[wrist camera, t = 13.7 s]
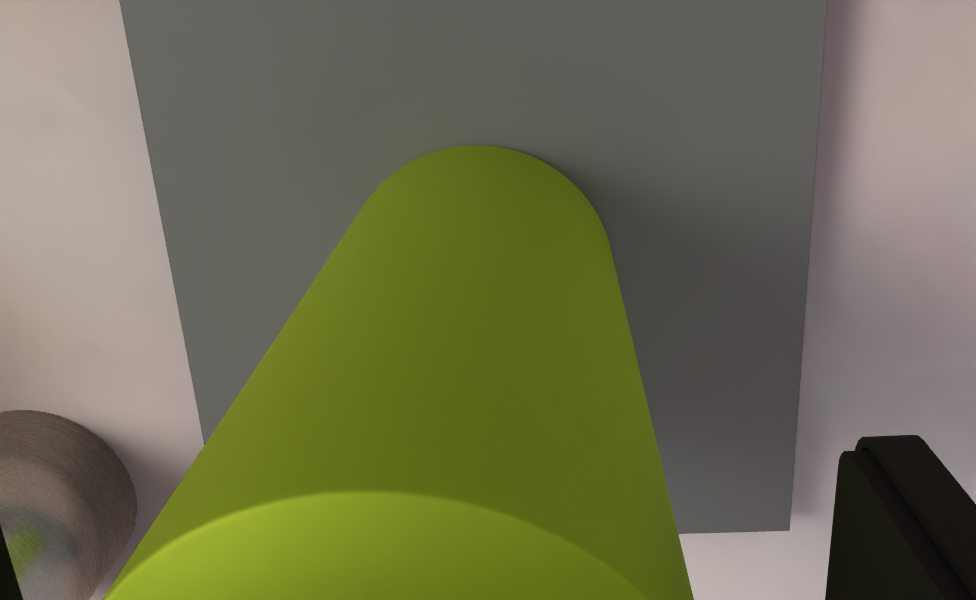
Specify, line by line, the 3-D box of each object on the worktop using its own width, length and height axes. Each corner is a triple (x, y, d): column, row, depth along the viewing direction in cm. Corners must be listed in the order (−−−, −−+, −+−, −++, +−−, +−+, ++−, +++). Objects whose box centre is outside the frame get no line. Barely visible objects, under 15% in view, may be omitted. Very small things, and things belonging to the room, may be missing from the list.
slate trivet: (130, -49, 19) (110, -48, 18) (818, -92, 18) (834, -94, 17) (235, 523, 24) (224, 546, 23) (778, 507, 23) (789, 530, 22)
